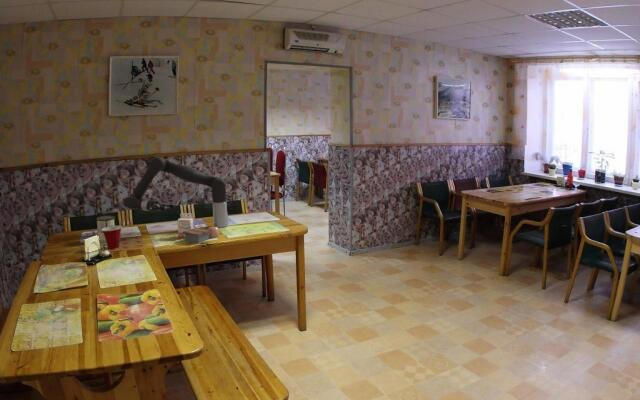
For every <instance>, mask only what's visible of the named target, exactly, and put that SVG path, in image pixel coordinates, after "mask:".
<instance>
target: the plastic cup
mask: <svg viewBox="0 0 640 400" xmlns="http://www.w3.org/2000/svg"><path fill="white" fill-rule="evenodd" d="M102 231H103V233H104V236H105V239H106V242H105V243H106V245H107V248H108V249H110V250H112V249H113V250H114V249H118V248H119V247H120V243H121V241H120V240H121V233H122V225H115V226H111V227H106V228H103V229H102Z"/></svg>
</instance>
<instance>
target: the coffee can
mask: <svg viewBox="0 0 640 400" xmlns="http://www.w3.org/2000/svg"><path fill="white" fill-rule="evenodd" d="M95 220H96V226H97V227H96V228H97V237H98V236H99V239H100V241H99V242H101V243H106V239H105V236H104V233H103V231H102V229H103V228H106V227H111V226H116V216H114V215H101V216H98V217H96V219H95ZM99 239H98V240H99Z"/></svg>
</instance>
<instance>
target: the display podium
mask: <svg viewBox="0 0 640 400" xmlns="http://www.w3.org/2000/svg"><path fill="white" fill-rule="evenodd" d="M210 231H211V230H210V229H208V228H201V227H193V229H190V230H187V231H184V232H183V234H185V238H184V240H185V242H188V243H195V244H200V243H203V242H205V241H209V240H210V238H209V232H210Z"/></svg>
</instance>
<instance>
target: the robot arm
mask: <svg viewBox="0 0 640 400" xmlns="http://www.w3.org/2000/svg"><path fill="white" fill-rule="evenodd" d="M159 172H164V173H167V174H171V175H173V176H175V177H176V178H179V179H181V180H183V181H185V182H188V183H191V184H196V185H198V184H199V185H204V186H206V187H209V188H211V199H212V215H213V216H212V217H213V220H212V221H213V227H218V229H222V228H227V227H228V225H229V220H228V219H229V218H228V217H229V216H228V215H229V214H228V213H229V212H228V211H227V210H228V208H227V206H228V205H227V204H228V203H227V187H226V186H227V183H226V180H225V179H223V178H220V177H217V176H214V175H209V174H206V173H205V172H202V171H199V170H197V169H195V168H192V167H189V166H186V165H182V164H178V163H174V162H172V161H169V160H167V159H165V158H163V157H161V156H155V157H153V158H151V160H150V162H149V164H148V167H147V168H146V171H145V173H144V174H143V175H142V177H141V178H140V180H139V182H138V183H137V184H136V186H134V189H132V195H134V197H132V196H127V197H125V198H124V199H123V201H122V204H123V205H122V206H124V207H125V208H127V209H131V210H139V211H146V212H151V213H152V212H153V213H155V212H158V211H162V212H164V211H165V212H166V209H175V208H176V206H175V204H172V203H169V202H159V201H158V200H156V199H146V198H145V199H143V197H144V195H145V193H146V192H147V190H148V189H149V188H150V185H151V183H152V181H153V179H154V178H155V177H156V176H157V174H158V173H159Z"/></svg>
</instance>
